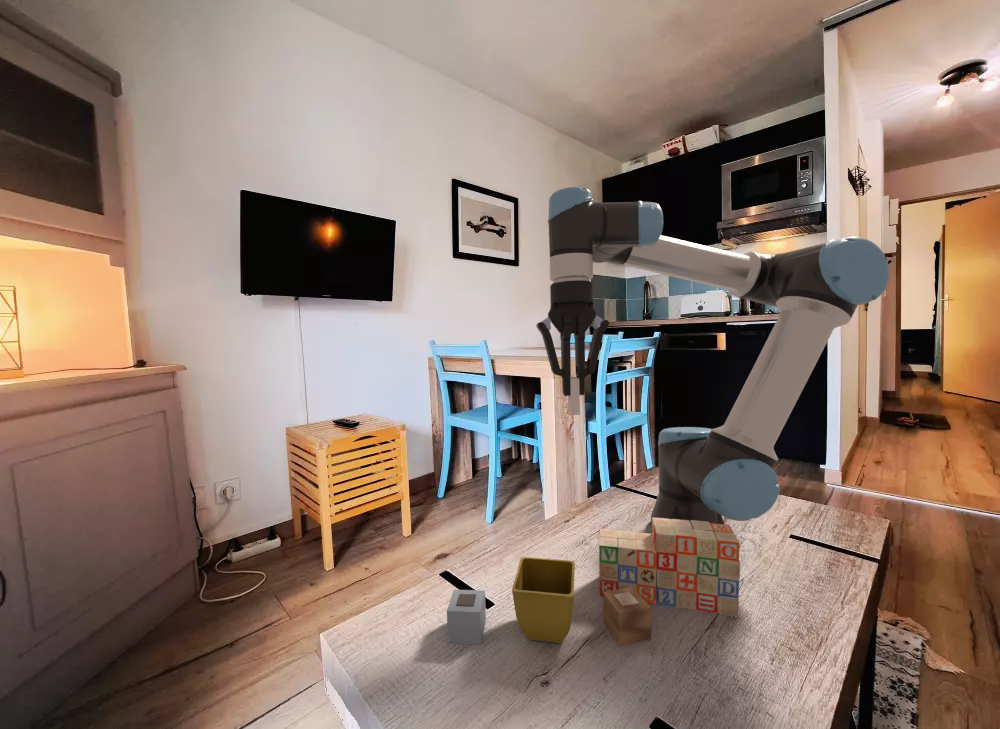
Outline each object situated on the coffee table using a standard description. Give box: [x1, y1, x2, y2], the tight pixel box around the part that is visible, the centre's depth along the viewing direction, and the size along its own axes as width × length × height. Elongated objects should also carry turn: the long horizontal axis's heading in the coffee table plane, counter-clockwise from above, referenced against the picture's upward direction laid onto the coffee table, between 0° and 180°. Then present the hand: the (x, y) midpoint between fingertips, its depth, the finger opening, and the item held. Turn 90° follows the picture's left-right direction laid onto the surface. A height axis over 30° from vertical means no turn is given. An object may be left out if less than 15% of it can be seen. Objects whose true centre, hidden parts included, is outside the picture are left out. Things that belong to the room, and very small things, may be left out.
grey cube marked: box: [446, 589, 487, 645], centre depth 62 cm, size 5×5×5 cm
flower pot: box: [511, 556, 576, 644], centre depth 62 cm, size 9×9×9 cm
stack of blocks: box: [598, 517, 741, 617], centre depth 69 cm, size 21×6×12 cm, turn 74°
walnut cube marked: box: [602, 587, 652, 647], centre depth 61 cm, size 5×5×5 cm
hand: (574, 413), depth 74 cm, fingers closed
